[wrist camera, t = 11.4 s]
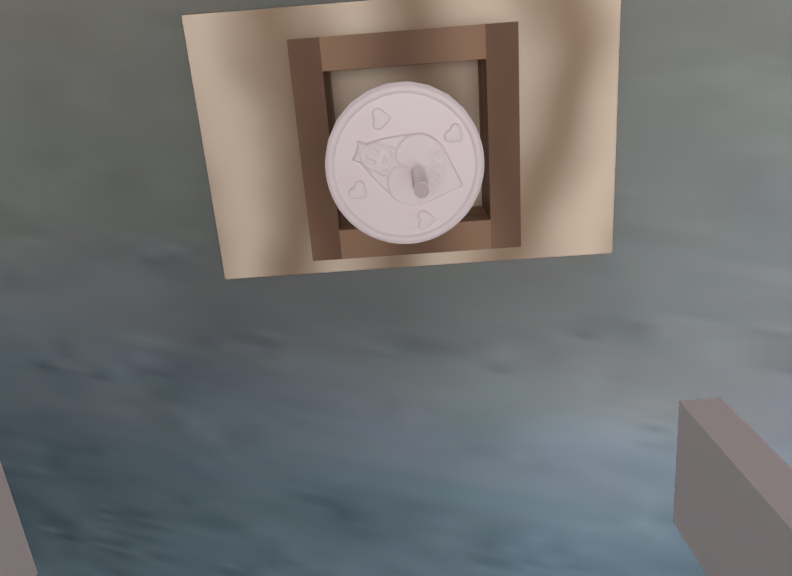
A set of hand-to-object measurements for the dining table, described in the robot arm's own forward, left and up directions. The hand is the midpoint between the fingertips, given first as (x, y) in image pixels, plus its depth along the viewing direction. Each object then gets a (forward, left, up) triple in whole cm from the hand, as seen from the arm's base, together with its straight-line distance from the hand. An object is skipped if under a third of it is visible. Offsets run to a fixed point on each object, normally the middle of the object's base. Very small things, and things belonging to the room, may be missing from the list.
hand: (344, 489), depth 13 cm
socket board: (+2, +4, -26) cm, 26 cm away
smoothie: (+2, +4, -25) cm, 25 cm away
